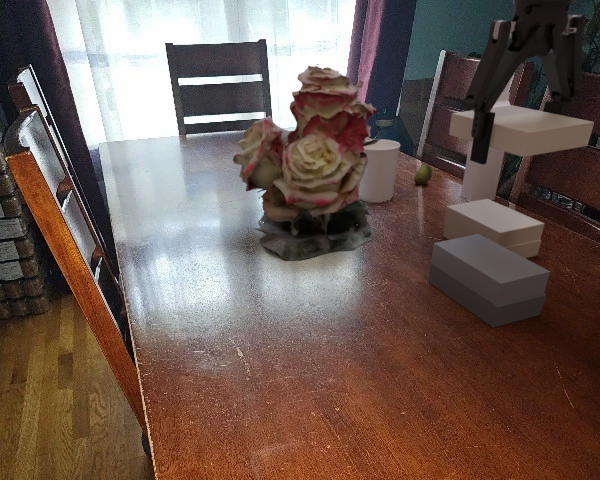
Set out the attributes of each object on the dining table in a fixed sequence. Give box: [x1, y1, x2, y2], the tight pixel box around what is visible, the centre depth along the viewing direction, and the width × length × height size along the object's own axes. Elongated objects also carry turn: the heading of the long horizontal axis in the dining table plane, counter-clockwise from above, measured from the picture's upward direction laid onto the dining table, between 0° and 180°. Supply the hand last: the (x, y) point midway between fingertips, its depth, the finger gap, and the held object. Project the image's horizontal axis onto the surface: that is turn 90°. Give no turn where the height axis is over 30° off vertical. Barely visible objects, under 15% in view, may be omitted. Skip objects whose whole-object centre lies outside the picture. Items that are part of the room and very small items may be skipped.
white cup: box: [358, 139, 401, 204], centre depth 121 cm, size 10×10×12 cm
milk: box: [460, 91, 511, 202], centre depth 115 cm, size 6×6×22 cm
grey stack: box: [428, 234, 551, 329], centre depth 81 cm, size 17×9×7 cm, turn 23°
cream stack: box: [442, 199, 545, 259], centre depth 98 cm, size 16×10×6 cm, turn 23°
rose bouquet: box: [232, 63, 381, 261], centre depth 97 cm, size 26×29×30 cm
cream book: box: [448, 104, 595, 158], centre depth 74 cm, size 16×12×3 cm
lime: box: [413, 163, 433, 185], centre depth 131 cm, size 4×5×5 cm
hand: (511, 156), depth 76 cm, fingers closed on cream book, 11 cm apart
